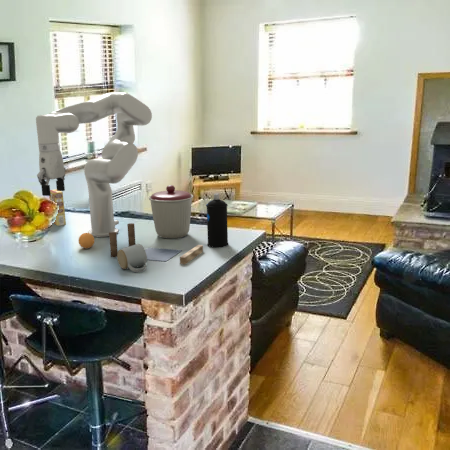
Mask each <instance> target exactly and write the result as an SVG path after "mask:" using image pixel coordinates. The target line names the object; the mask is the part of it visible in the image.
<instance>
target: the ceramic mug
mask: <svg viewBox="0 0 450 450" xmlns="http://www.w3.org/2000/svg"><path fill="white" fill-rule="evenodd" d="M116 258H117V262H118V265H119V267H120V268H122V270H130V271H132V272H134V273H142V272H145V271H146V269H147V261H148V260H147V255H146V251H145V246H143V244H141V243H136V245H133V246H129V245H128V246H127V247H123V248H121V249H119V250H118V253H117V257H116ZM139 267H141V268H139Z"/></svg>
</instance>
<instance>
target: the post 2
mask: <svg viewBox="0 0 450 450" xmlns="http://www.w3.org/2000/svg"><path fill="white" fill-rule="evenodd" d="M135 229H136V228H135V223H133V222H131V223H130V222H129V223H127V237H128V238H127V239H128V247H129V246H133V245H136V244H137V243H136V233H135Z"/></svg>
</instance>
